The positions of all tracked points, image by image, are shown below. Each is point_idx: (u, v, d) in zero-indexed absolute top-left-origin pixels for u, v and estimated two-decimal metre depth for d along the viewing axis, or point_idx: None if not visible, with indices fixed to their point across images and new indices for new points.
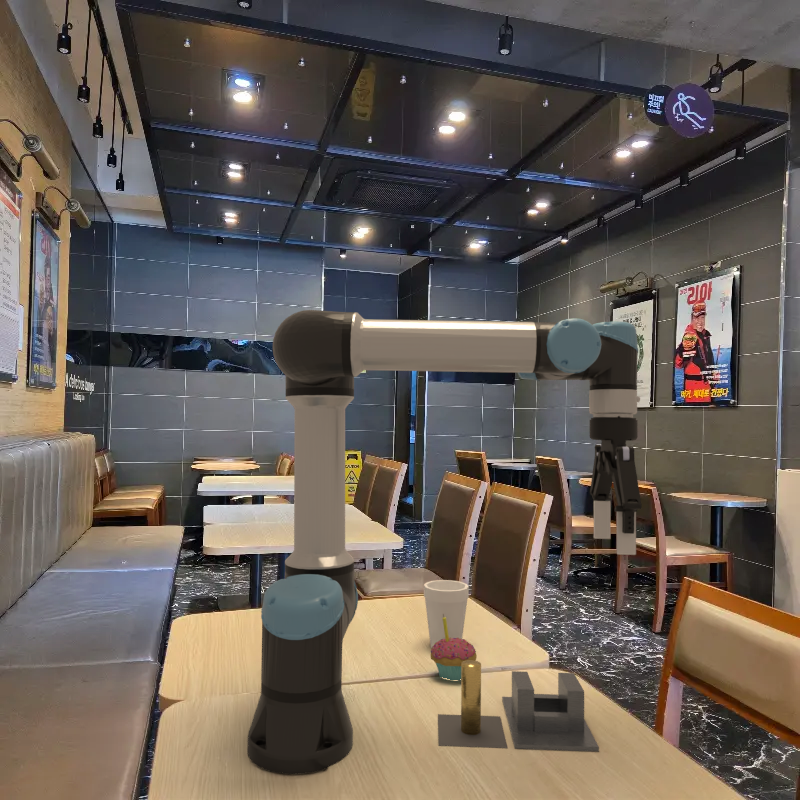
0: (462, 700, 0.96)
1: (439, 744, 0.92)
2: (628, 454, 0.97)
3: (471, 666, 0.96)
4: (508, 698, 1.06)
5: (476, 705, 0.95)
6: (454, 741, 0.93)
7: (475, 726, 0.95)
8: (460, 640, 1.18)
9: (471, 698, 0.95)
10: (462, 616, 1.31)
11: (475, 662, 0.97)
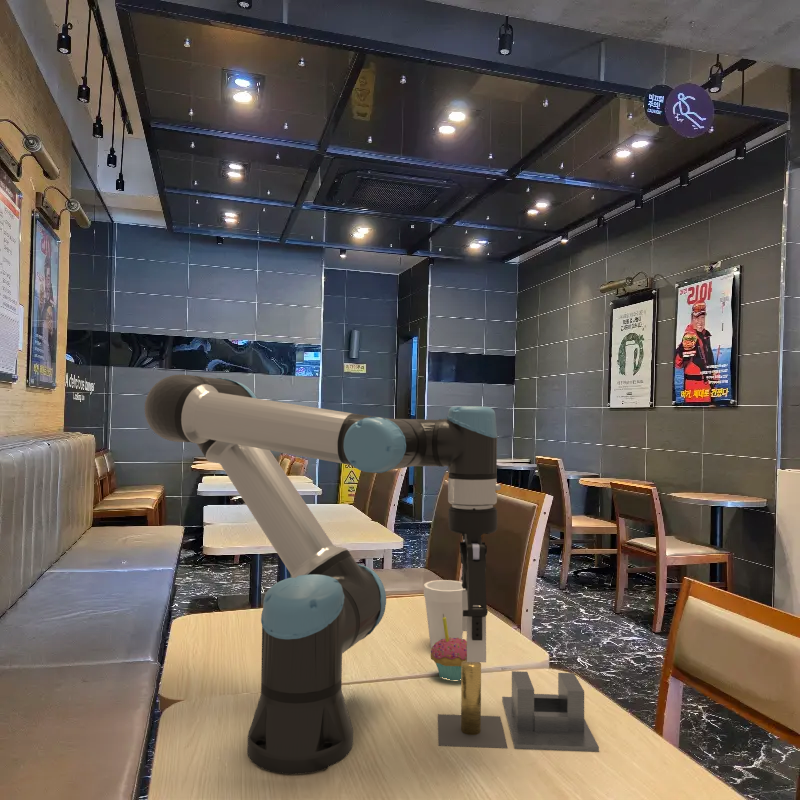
0: (462, 700, 0.96)
1: (439, 744, 0.92)
2: (478, 553, 0.91)
3: (471, 666, 0.96)
4: (508, 698, 1.06)
5: (476, 705, 0.95)
6: (454, 741, 0.93)
7: (475, 726, 0.95)
8: (460, 640, 1.18)
9: (471, 698, 0.95)
10: None
11: (475, 662, 0.97)
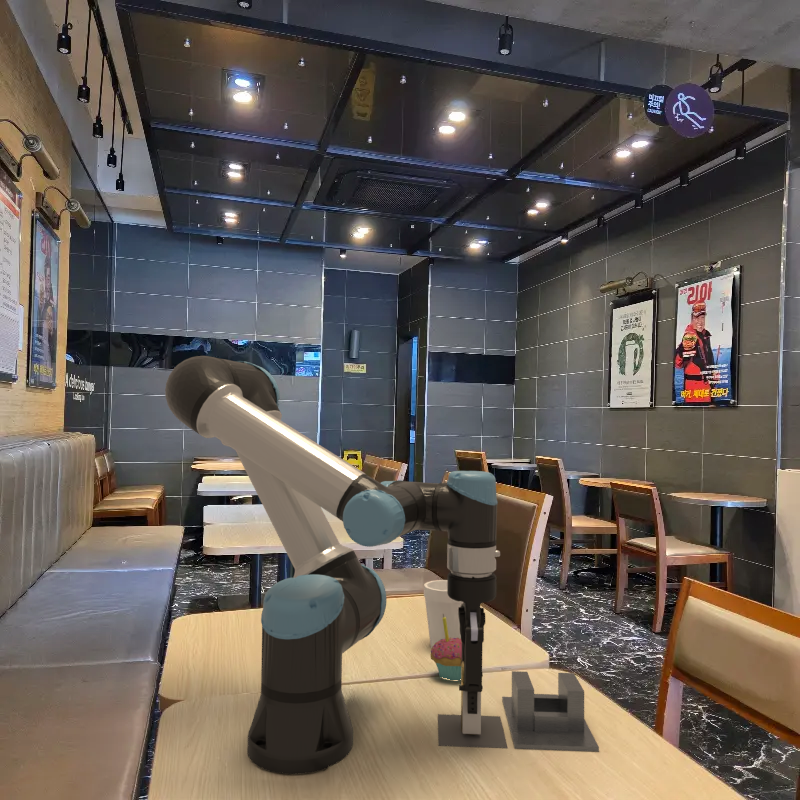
0: (462, 700, 0.96)
1: (439, 744, 0.92)
2: (476, 637, 0.91)
3: None
4: (508, 698, 1.06)
5: None
6: (454, 741, 0.93)
7: None
8: (460, 640, 1.18)
9: None
10: None
11: None
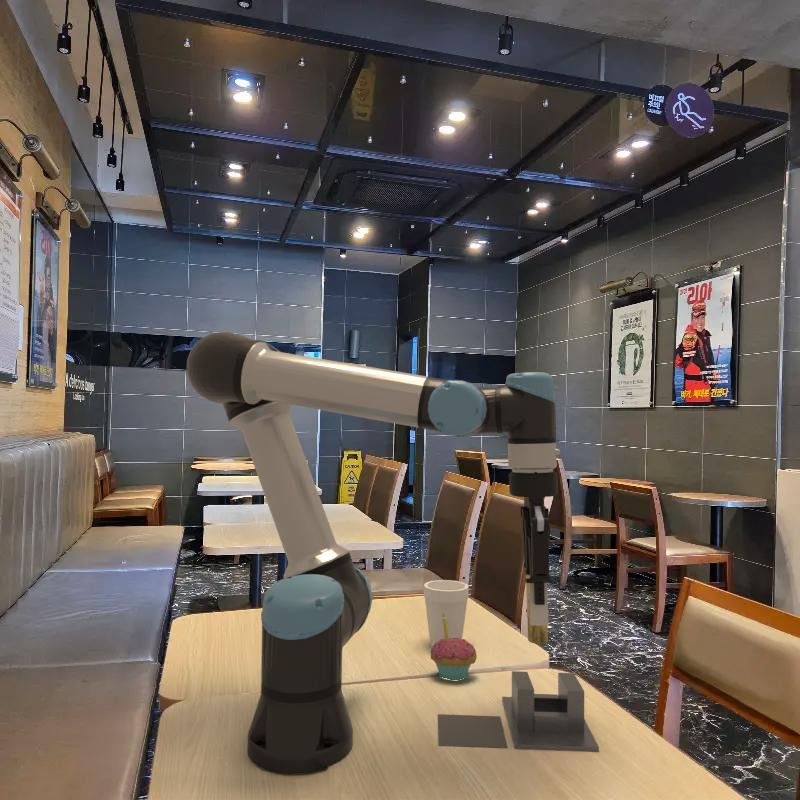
0: (528, 611, 0.98)
1: (439, 744, 0.92)
2: (542, 527, 0.93)
3: None
4: (508, 698, 1.06)
5: None
6: (454, 741, 0.93)
7: (542, 634, 0.97)
8: (460, 640, 1.18)
9: None
10: (462, 616, 1.31)
11: None
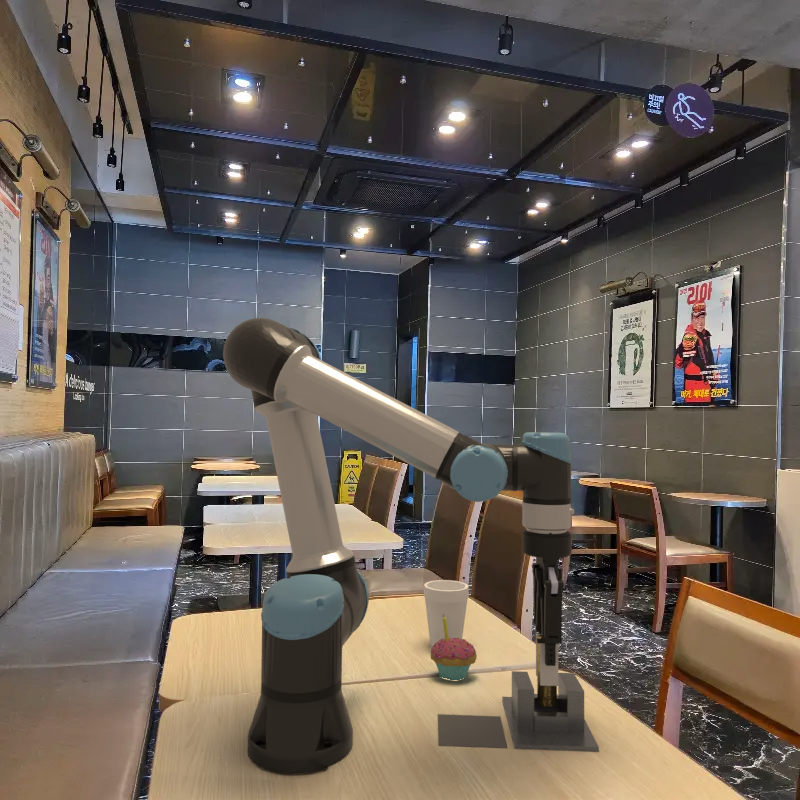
0: (539, 673, 0.99)
1: (439, 744, 0.92)
2: (556, 590, 0.94)
3: None
4: (508, 698, 1.06)
5: None
6: (454, 741, 0.93)
7: (552, 697, 0.98)
8: (460, 640, 1.18)
9: None
10: (462, 616, 1.31)
11: None
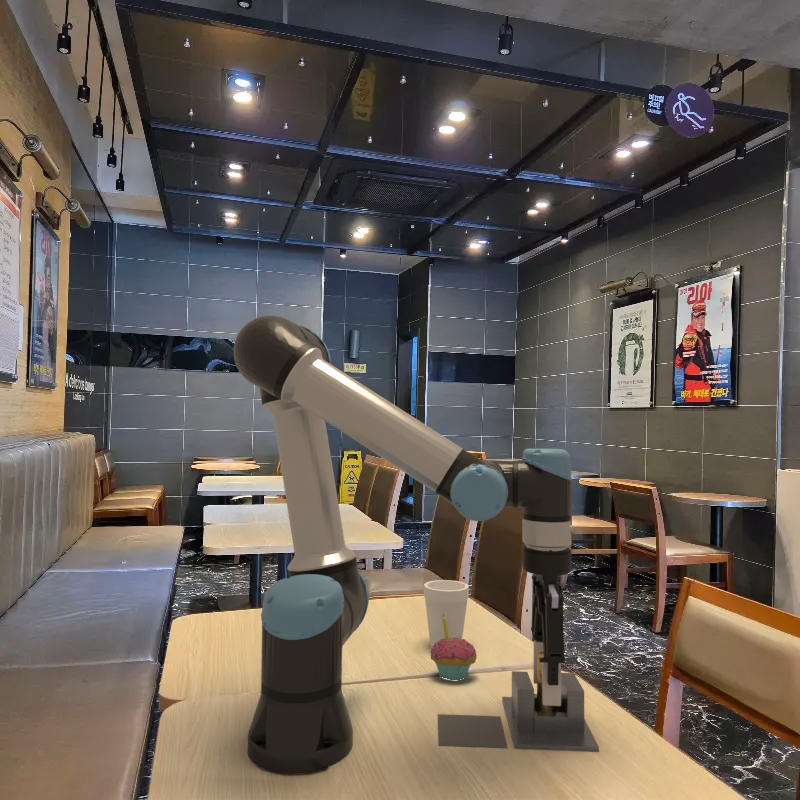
0: (538, 690, 0.99)
1: (439, 744, 0.92)
2: (557, 603, 0.93)
3: None
4: (508, 698, 1.06)
5: None
6: (454, 741, 0.93)
7: None
8: (460, 640, 1.18)
9: None
10: (462, 616, 1.31)
11: None
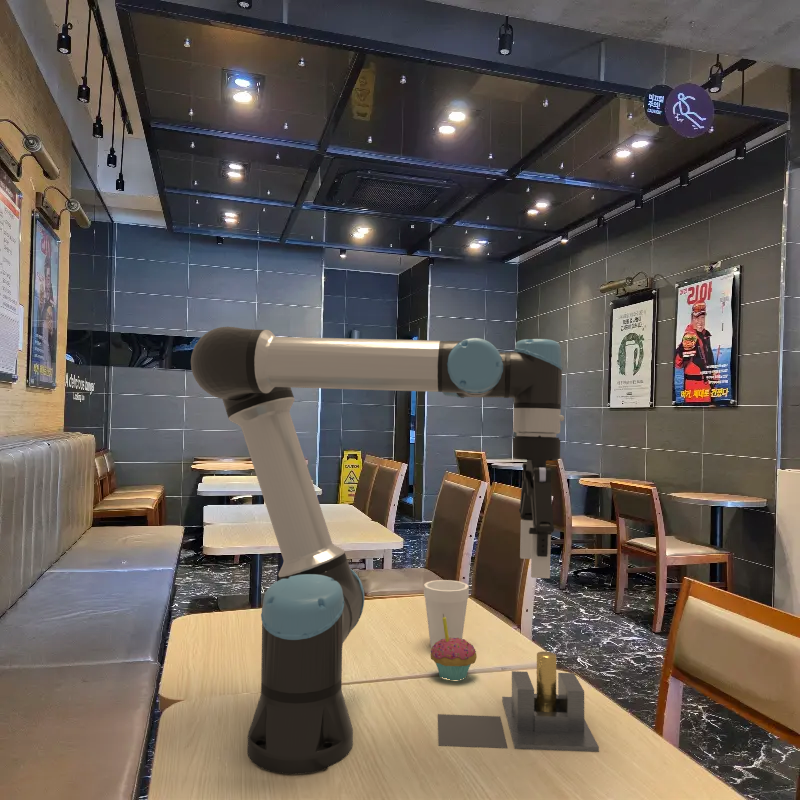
0: (538, 690, 0.99)
1: (439, 744, 0.92)
2: (544, 475, 0.95)
3: (547, 657, 0.98)
4: (508, 698, 1.06)
5: (552, 695, 0.98)
6: (454, 741, 0.93)
7: None
8: (460, 640, 1.18)
9: (547, 688, 0.98)
10: (462, 616, 1.31)
11: (549, 653, 1.00)
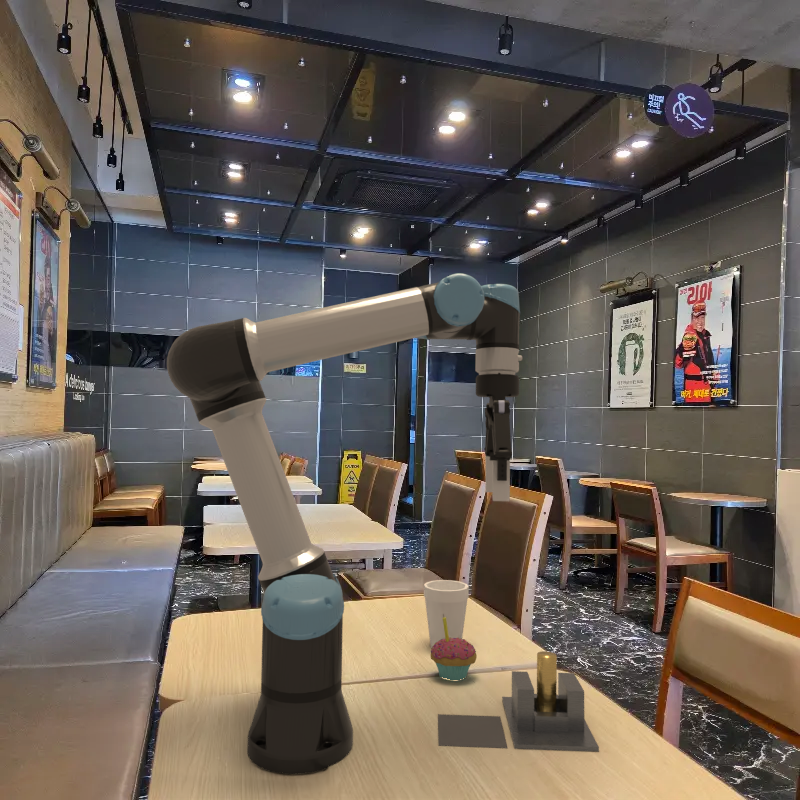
0: (538, 690, 0.99)
1: (439, 744, 0.92)
2: (503, 407, 1.03)
3: (547, 657, 0.98)
4: (508, 698, 1.06)
5: (552, 694, 0.98)
6: (454, 741, 0.93)
7: None
8: (460, 640, 1.18)
9: (547, 688, 0.98)
10: (462, 616, 1.31)
11: (550, 653, 1.00)
